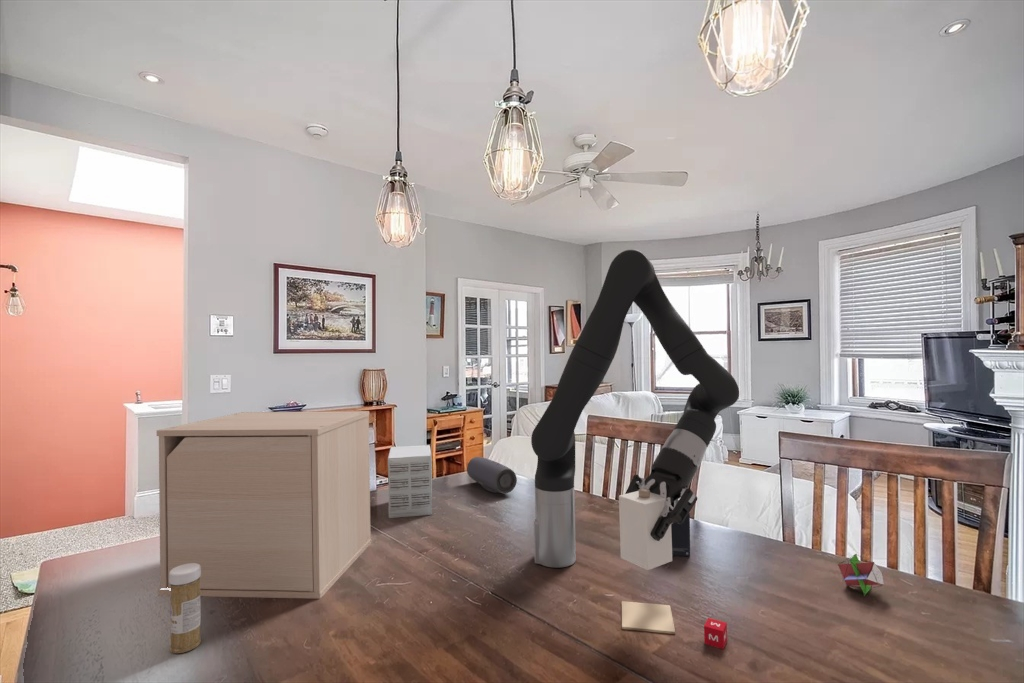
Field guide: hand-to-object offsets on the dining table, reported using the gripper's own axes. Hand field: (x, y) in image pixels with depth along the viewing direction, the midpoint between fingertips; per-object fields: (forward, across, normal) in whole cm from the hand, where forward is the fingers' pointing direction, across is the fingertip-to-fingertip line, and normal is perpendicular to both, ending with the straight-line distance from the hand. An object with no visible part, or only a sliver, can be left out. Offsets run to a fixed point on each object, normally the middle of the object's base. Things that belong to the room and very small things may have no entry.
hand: (639, 532), depth 91 cm
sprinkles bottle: (+60, -39, -38) cm, 81 cm away
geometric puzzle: (-20, +17, +43) cm, 50 cm away
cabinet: (+48, -65, -26) cm, 85 cm away
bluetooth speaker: (-3, -90, +26) cm, 93 cm away
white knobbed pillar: (+3, 0, +5) cm, 6 cm away
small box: (-11, -18, +34) cm, 40 cm away
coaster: (+10, 0, +12) cm, 16 cm away
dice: (+8, +12, +15) cm, 21 cm away
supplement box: (+18, -87, +4) cm, 89 cm away
